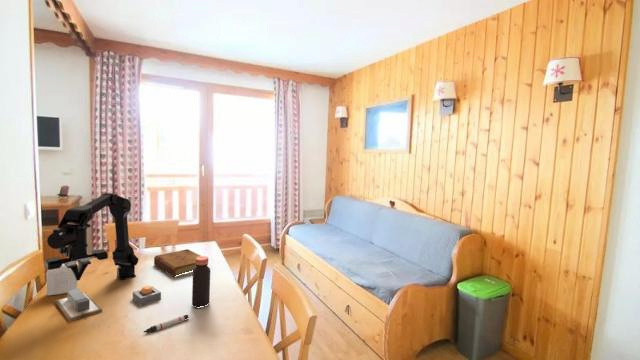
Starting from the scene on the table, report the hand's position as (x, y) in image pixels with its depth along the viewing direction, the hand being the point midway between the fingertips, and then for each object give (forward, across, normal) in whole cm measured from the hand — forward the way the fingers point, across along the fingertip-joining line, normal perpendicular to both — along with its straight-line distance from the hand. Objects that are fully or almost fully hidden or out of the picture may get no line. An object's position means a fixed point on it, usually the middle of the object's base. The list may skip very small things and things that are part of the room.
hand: (77, 280), depth 121 cm
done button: (+9, -21, +11) cm, 25 cm away
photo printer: (+11, +1, -19) cm, 22 cm away
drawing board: (+11, 0, 0) cm, 11 cm away
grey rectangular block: (+10, 0, 0) cm, 10 cm away
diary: (+12, -49, -14) cm, 52 cm away
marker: (+12, -17, +37) cm, 42 cm away
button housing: (+11, -21, +11) cm, 26 cm away
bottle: (+11, -34, +31) cm, 47 cm away
